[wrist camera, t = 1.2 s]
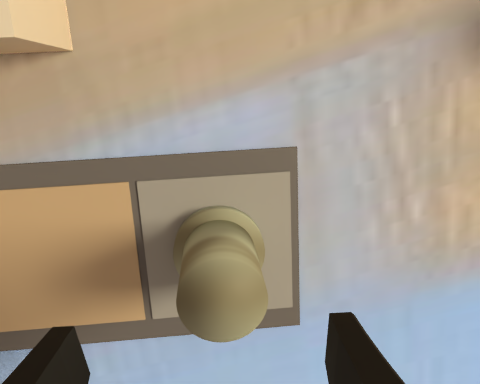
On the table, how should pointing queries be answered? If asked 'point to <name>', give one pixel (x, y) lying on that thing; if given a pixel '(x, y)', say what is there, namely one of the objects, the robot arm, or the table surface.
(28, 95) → the table surface
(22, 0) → the die
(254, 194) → the game board
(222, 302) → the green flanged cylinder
